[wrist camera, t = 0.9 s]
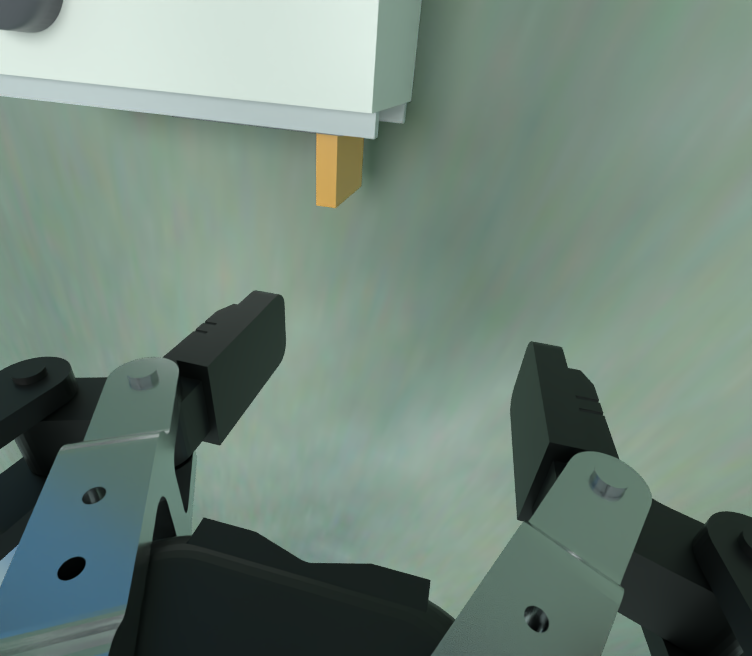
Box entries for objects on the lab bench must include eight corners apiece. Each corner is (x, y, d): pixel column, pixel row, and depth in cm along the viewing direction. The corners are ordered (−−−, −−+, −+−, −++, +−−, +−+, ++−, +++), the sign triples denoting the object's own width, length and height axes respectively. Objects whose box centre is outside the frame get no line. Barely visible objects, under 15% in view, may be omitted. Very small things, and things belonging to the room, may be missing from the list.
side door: (233, 92, 29) (169, 96, 23) (373, 107, 28) (342, 115, 22) (239, 168, 32) (183, 188, 26) (368, 185, 30) (339, 211, 24)
